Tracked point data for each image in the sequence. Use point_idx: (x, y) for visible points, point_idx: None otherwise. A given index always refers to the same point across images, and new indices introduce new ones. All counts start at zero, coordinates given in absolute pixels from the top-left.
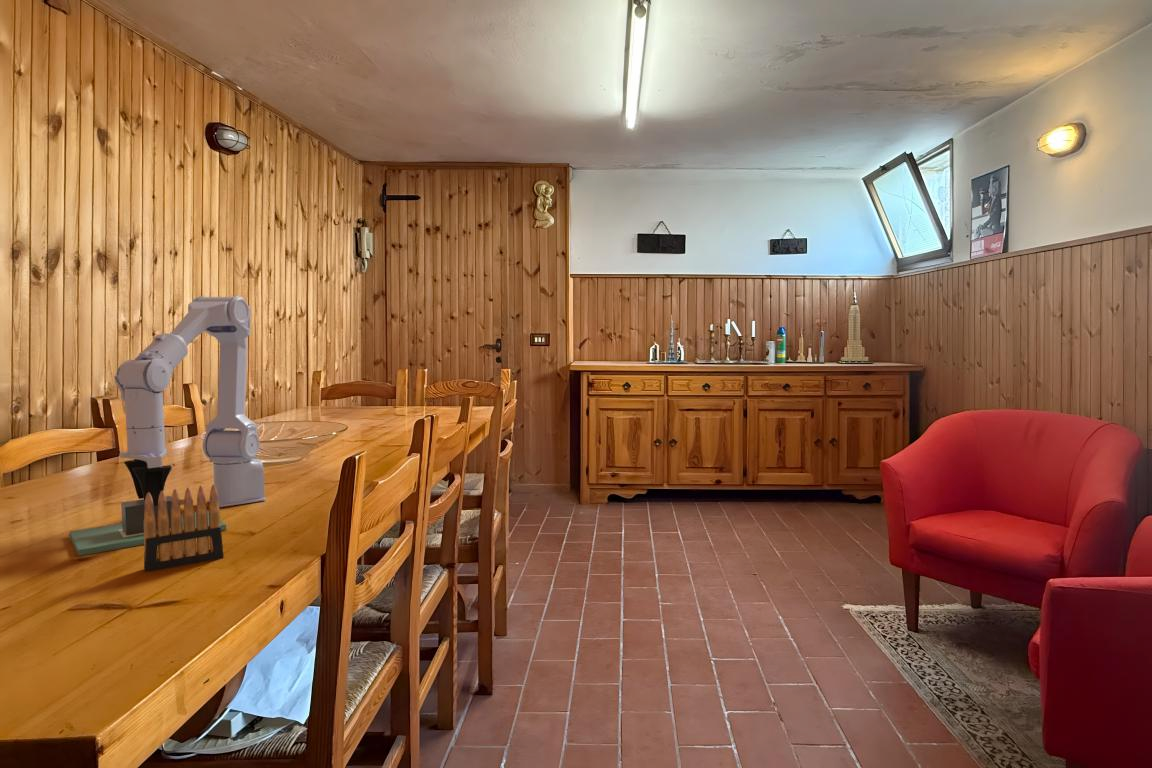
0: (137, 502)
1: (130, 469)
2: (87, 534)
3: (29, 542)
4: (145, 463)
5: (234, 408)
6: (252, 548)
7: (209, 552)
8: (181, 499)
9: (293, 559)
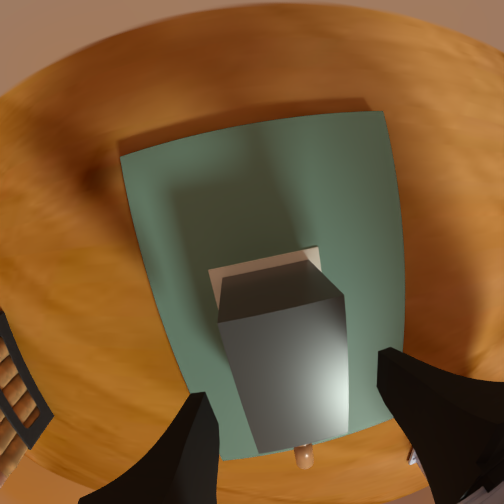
0: (300, 359)
1: (468, 418)
2: (316, 156)
3: (361, 35)
4: (456, 480)
5: None
6: (81, 450)
7: (41, 407)
8: (302, 452)
9: (35, 454)
